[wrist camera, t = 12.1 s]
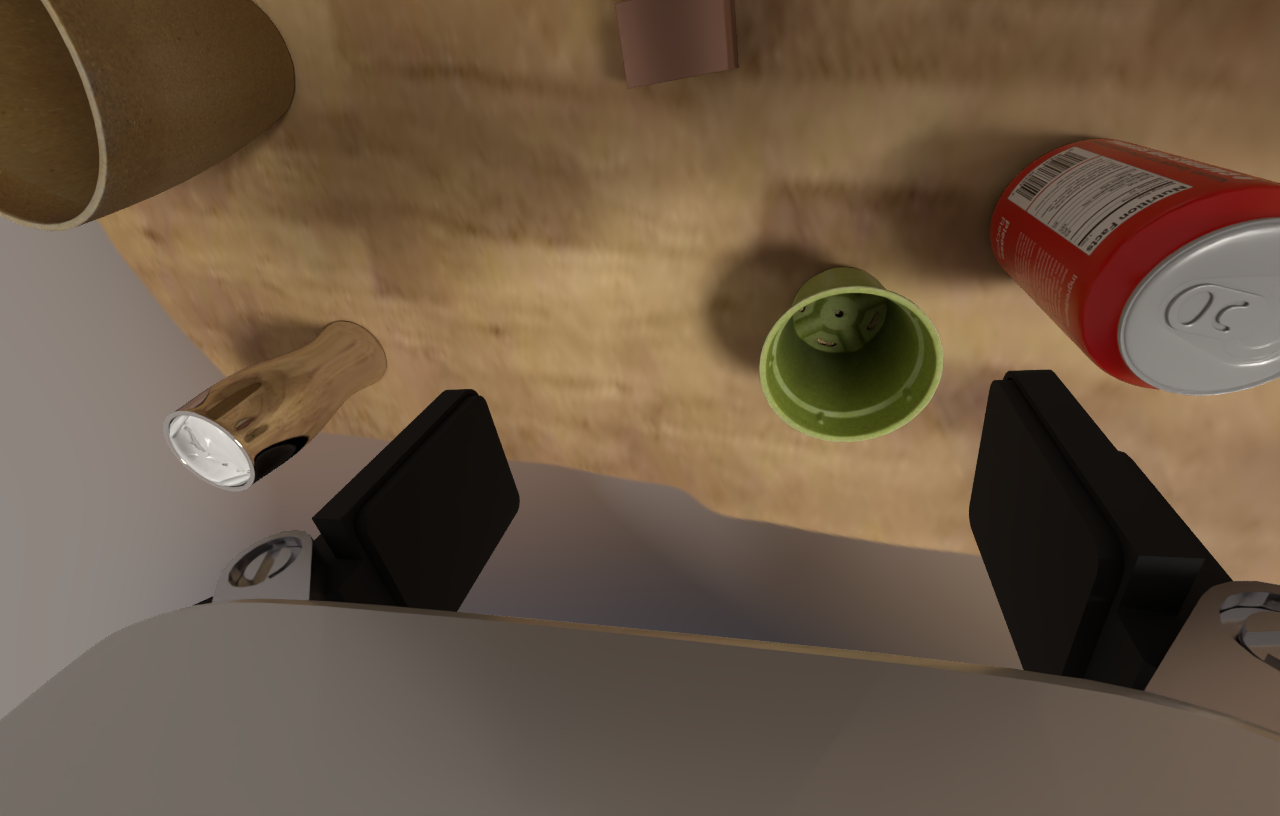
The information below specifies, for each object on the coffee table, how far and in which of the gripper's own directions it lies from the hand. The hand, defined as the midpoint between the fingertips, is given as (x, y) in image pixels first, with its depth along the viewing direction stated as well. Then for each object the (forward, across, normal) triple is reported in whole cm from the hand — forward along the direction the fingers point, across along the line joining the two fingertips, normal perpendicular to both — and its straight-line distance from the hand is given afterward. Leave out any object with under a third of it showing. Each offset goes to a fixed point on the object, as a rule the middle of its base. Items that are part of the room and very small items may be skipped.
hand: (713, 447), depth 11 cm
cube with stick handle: (+28, +4, -11) cm, 31 cm away
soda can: (+28, -16, +4) cm, 33 cm away
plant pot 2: (+28, -4, +9) cm, 30 cm away
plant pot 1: (+28, +34, -12) cm, 46 cm away
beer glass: (+28, +36, +10) cm, 47 cm away
